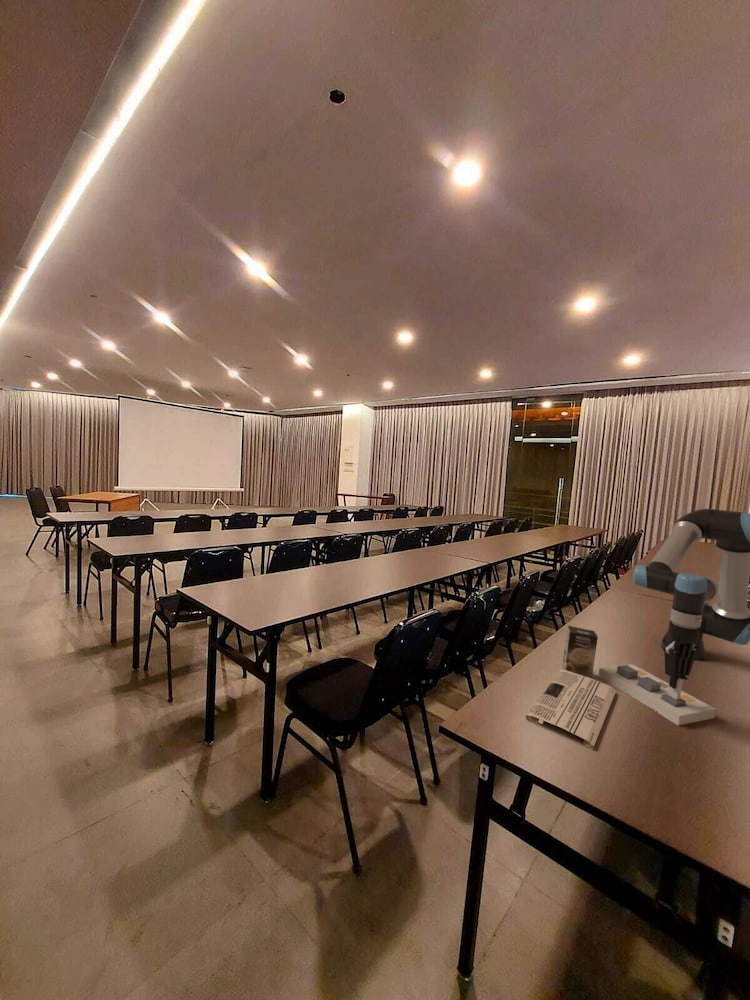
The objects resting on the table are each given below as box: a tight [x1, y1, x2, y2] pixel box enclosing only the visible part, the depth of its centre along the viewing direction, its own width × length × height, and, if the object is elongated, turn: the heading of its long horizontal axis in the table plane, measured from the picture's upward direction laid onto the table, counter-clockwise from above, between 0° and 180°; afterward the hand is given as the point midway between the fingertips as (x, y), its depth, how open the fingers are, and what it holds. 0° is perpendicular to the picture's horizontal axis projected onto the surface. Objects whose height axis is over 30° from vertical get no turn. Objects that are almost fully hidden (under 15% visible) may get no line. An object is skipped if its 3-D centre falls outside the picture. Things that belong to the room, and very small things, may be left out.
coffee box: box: [561, 625, 599, 679], centre depth 145 cm, size 9×6×16 cm
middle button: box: [638, 677, 661, 693], centre depth 133 cm, size 4×4×3 cm
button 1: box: [616, 664, 638, 679], centre depth 141 cm, size 4×4×3 cm
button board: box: [598, 663, 717, 726], centre depth 134 cm, size 16×28×3 cm, turn 19°
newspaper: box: [525, 669, 617, 750], centre depth 124 cm, size 37×19×3 cm, turn 141°
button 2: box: [661, 694, 686, 707], centre depth 126 cm, size 4×4×3 cm
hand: (673, 697), depth 126 cm, fingers closed
